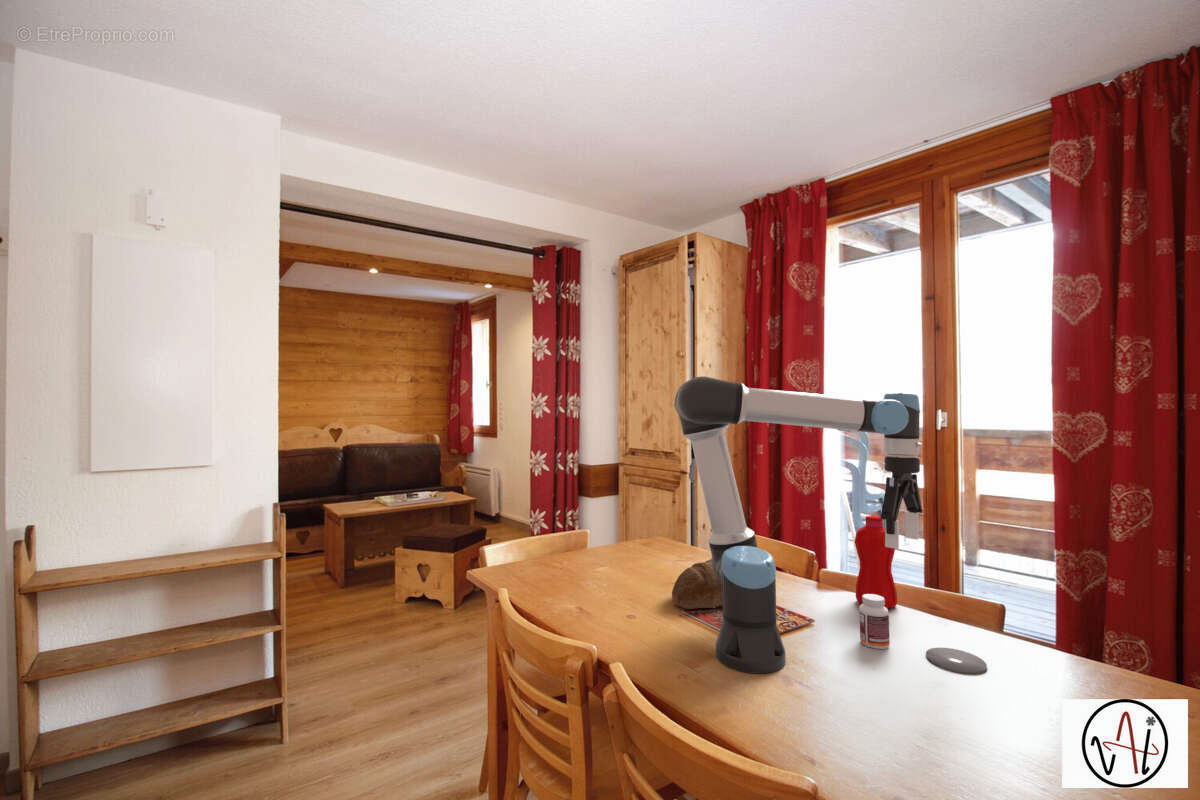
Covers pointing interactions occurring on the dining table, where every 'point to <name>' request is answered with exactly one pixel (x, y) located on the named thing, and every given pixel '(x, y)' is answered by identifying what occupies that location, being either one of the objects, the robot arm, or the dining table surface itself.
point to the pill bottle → (874, 622)
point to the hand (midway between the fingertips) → (902, 543)
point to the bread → (698, 587)
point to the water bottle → (875, 562)
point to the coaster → (956, 660)
